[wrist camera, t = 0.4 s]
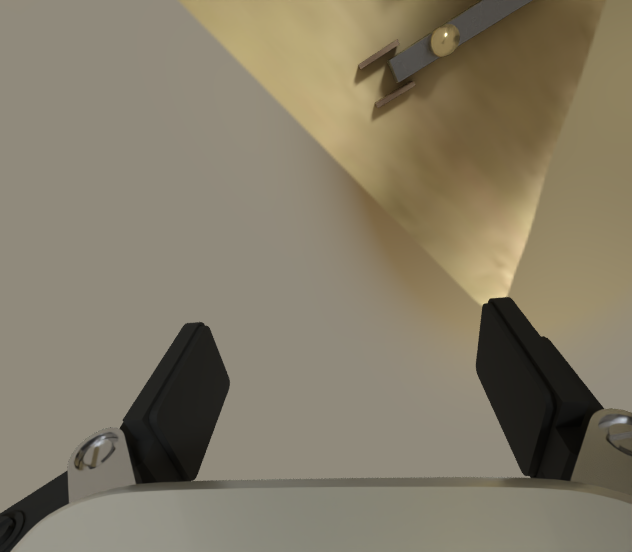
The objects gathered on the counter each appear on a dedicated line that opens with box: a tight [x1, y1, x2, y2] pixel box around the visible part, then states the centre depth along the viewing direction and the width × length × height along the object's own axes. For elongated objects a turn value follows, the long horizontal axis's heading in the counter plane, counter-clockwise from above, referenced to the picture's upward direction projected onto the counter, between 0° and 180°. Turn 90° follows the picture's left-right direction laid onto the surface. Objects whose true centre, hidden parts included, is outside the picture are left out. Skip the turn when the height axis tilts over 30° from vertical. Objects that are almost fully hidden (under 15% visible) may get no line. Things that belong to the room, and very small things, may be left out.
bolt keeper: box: [359, 39, 415, 108], centre depth 29 cm, size 4×4×1 cm
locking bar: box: [387, 0, 532, 83], centre depth 26 cm, size 12×2×3 cm, turn 120°
